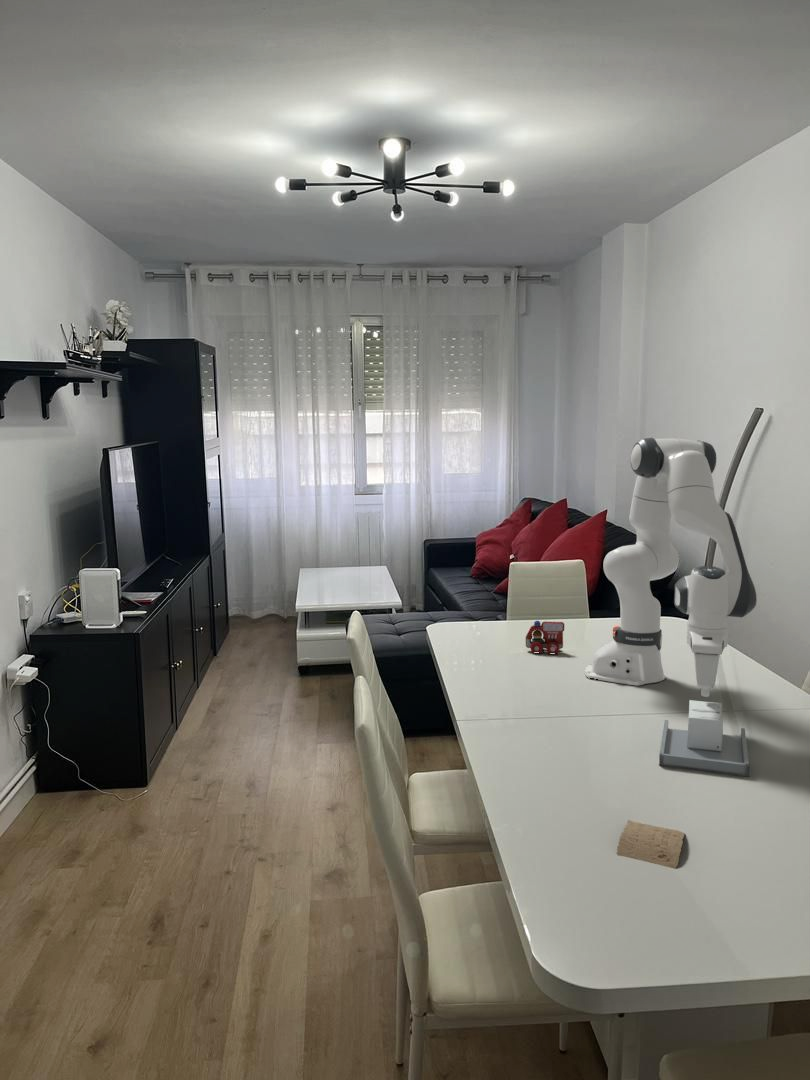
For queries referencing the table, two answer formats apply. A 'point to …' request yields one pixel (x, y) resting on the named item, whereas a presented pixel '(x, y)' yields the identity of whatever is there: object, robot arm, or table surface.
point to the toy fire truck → (545, 637)
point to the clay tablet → (651, 844)
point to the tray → (704, 754)
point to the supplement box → (705, 726)
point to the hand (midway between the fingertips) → (705, 694)
